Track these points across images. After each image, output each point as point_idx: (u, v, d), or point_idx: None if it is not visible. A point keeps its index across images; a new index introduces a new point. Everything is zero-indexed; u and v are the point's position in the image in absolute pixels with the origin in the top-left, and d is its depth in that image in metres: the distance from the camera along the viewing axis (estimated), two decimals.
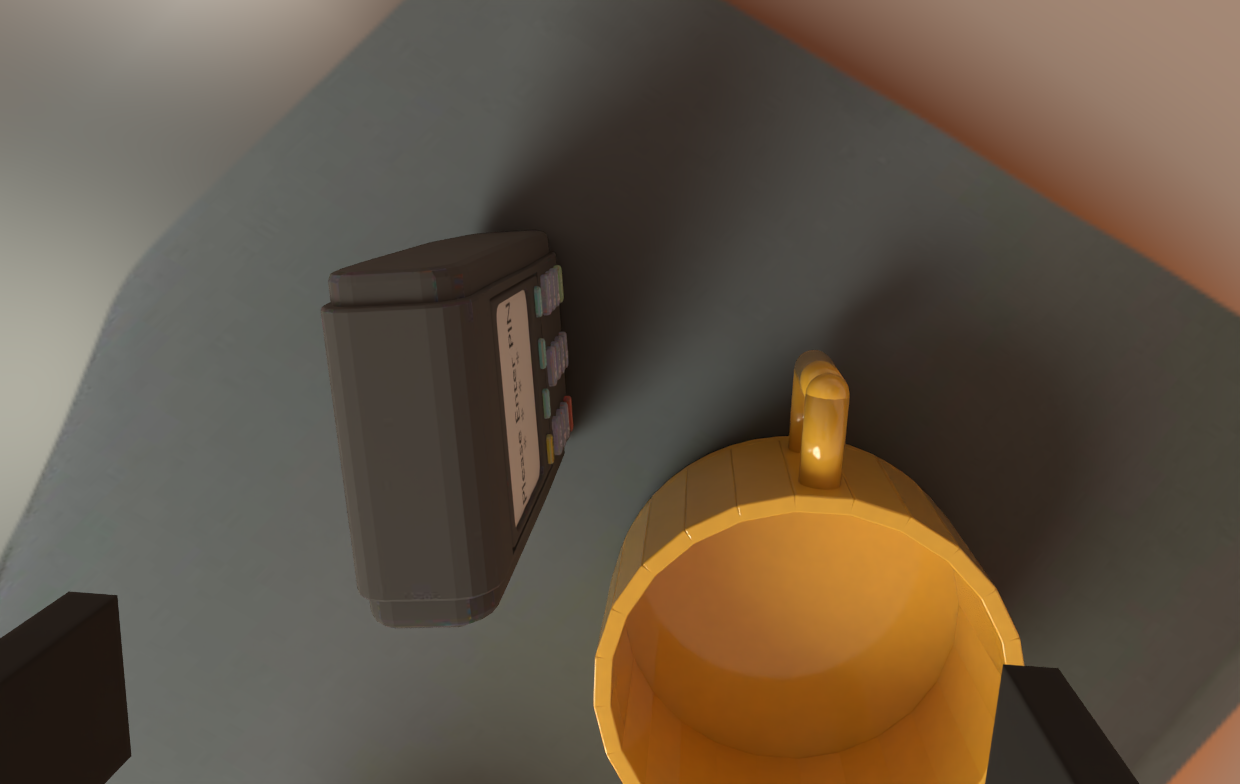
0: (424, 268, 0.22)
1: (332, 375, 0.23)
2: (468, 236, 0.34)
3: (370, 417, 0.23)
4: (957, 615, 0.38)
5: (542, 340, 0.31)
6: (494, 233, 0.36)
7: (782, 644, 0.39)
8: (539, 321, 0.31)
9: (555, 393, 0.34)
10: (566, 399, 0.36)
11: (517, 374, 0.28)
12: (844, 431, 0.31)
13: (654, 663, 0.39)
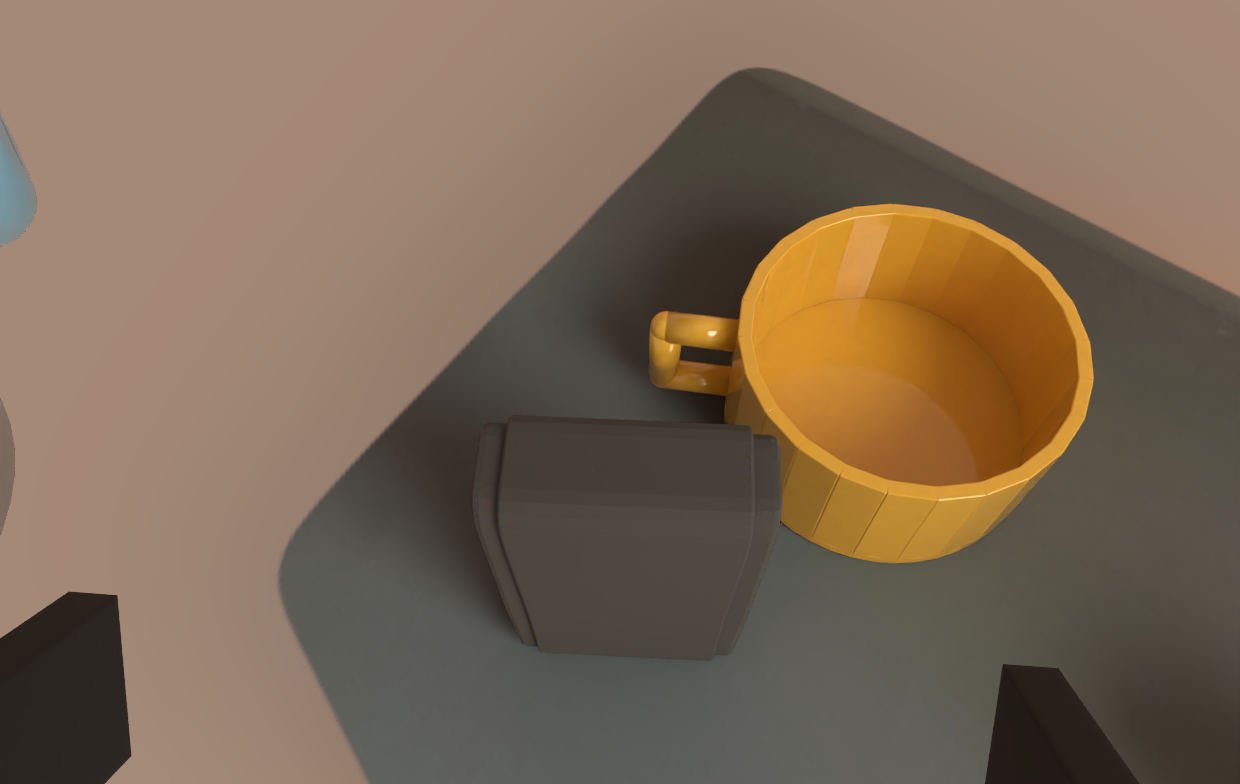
0: None
1: (552, 516, 0.27)
2: None
3: (589, 483, 0.28)
4: (873, 297, 0.48)
5: None
6: None
7: (909, 419, 0.45)
8: None
9: None
10: None
11: None
12: (694, 314, 0.41)
13: None
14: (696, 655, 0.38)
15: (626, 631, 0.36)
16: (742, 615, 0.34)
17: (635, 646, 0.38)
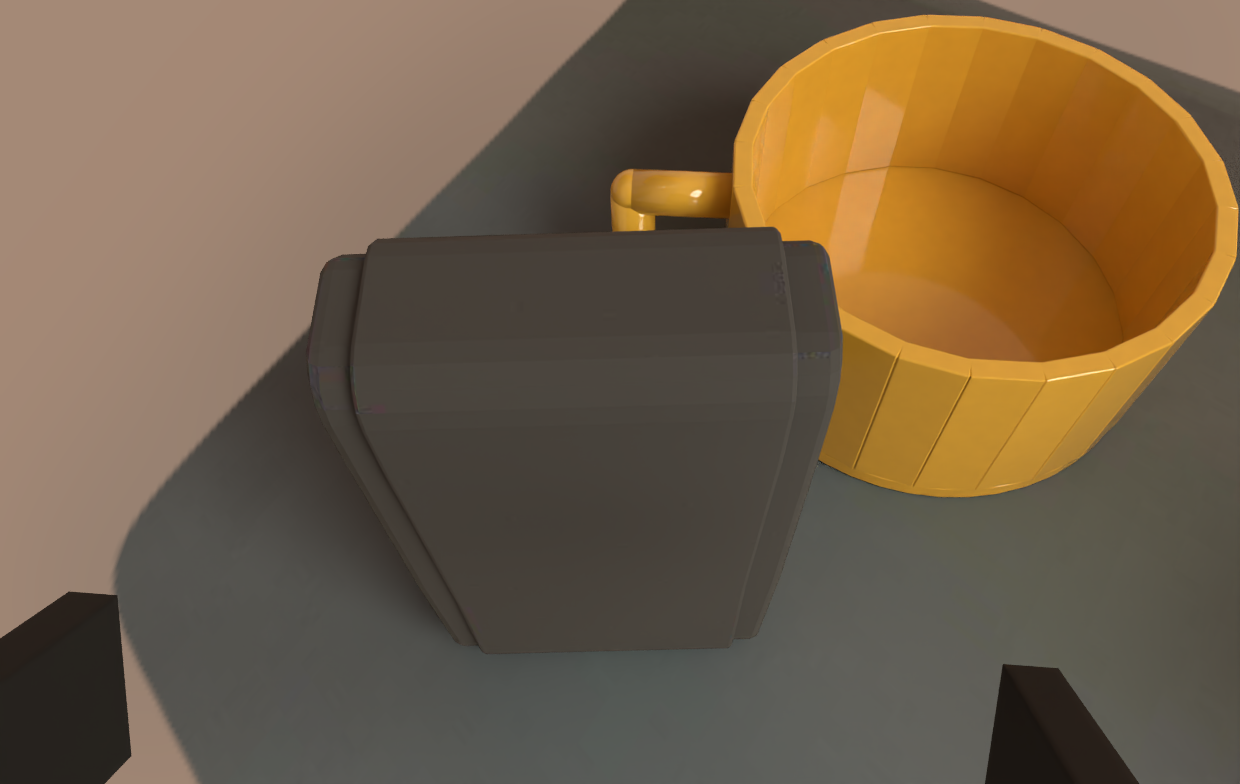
0: (322, 269, 0.17)
1: (447, 385, 0.16)
2: None
3: (507, 326, 0.16)
4: (901, 165, 0.37)
5: None
6: None
7: (967, 309, 0.33)
8: None
9: None
10: None
11: None
12: None
13: None
14: (708, 640, 0.27)
15: (602, 608, 0.24)
16: (775, 566, 0.22)
17: (618, 632, 0.26)
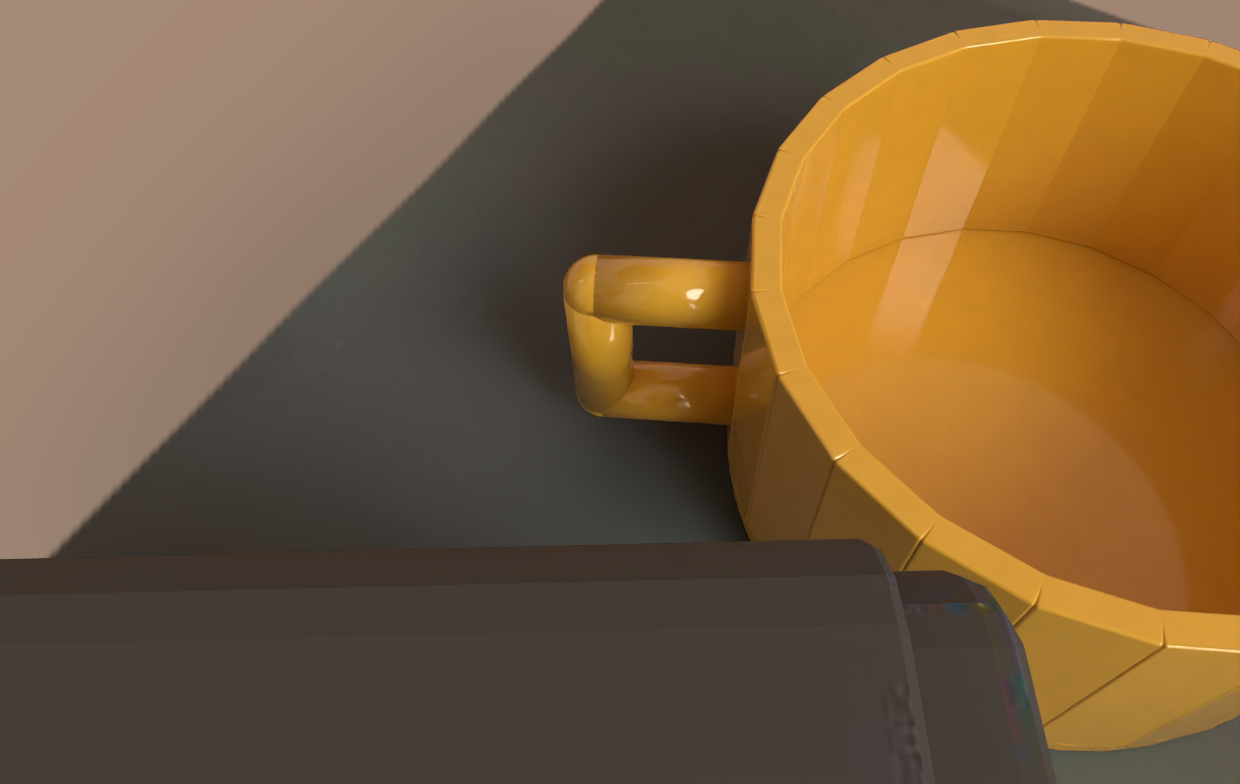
0: None
1: None
2: None
3: None
4: (980, 228, 0.27)
5: None
6: None
7: (1086, 446, 0.23)
8: None
9: None
10: None
11: None
12: (653, 257, 0.20)
13: None
14: None
15: None
16: None
17: None
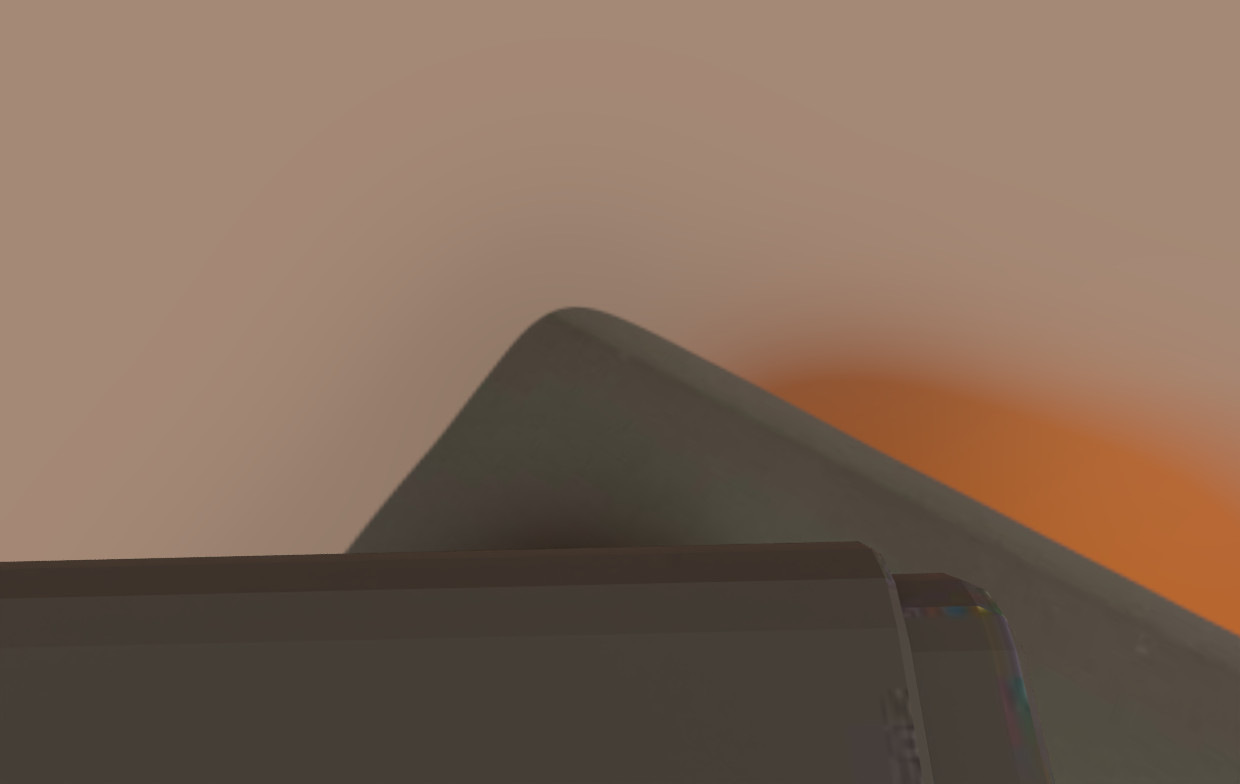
0: None
1: None
2: None
3: None
4: None
5: None
6: None
7: None
8: None
9: None
10: None
11: None
12: None
13: None
14: None
15: None
16: None
17: None
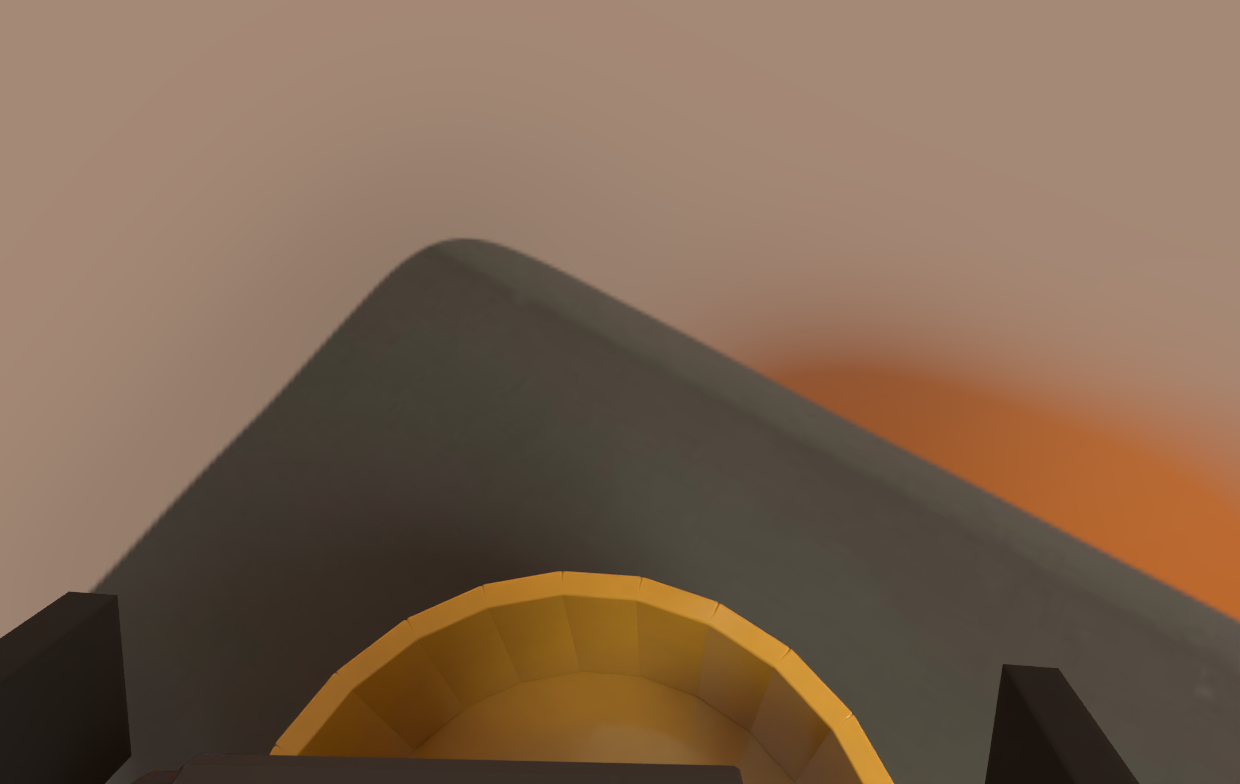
0: None
1: None
2: None
3: None
4: (596, 672, 0.28)
5: None
6: None
7: None
8: None
9: None
10: None
11: None
12: None
13: None
14: None
15: None
16: None
17: None
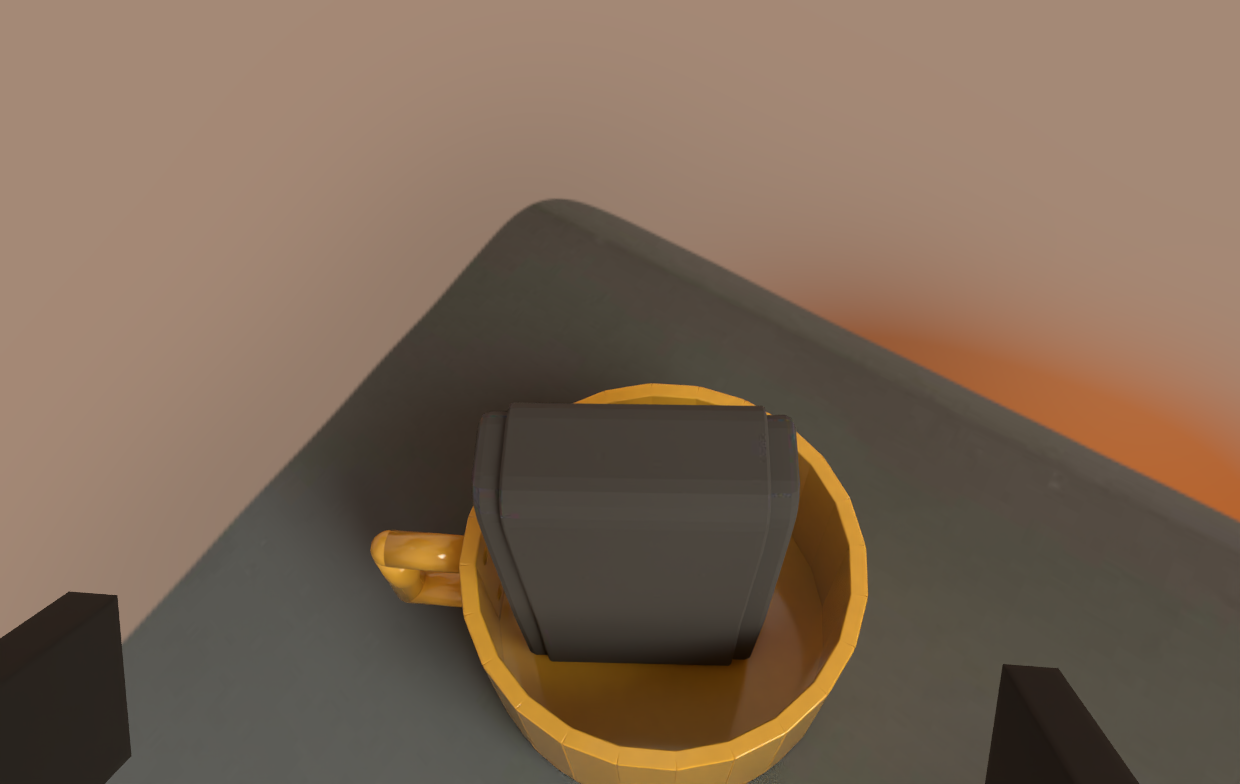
0: (479, 422, 0.27)
1: (557, 504, 0.26)
2: None
3: (595, 469, 0.26)
4: None
5: None
6: None
7: None
8: None
9: None
10: None
11: None
12: (420, 532, 0.36)
13: None
14: (714, 660, 0.37)
15: (639, 634, 0.34)
16: (761, 613, 0.33)
17: (649, 651, 0.36)
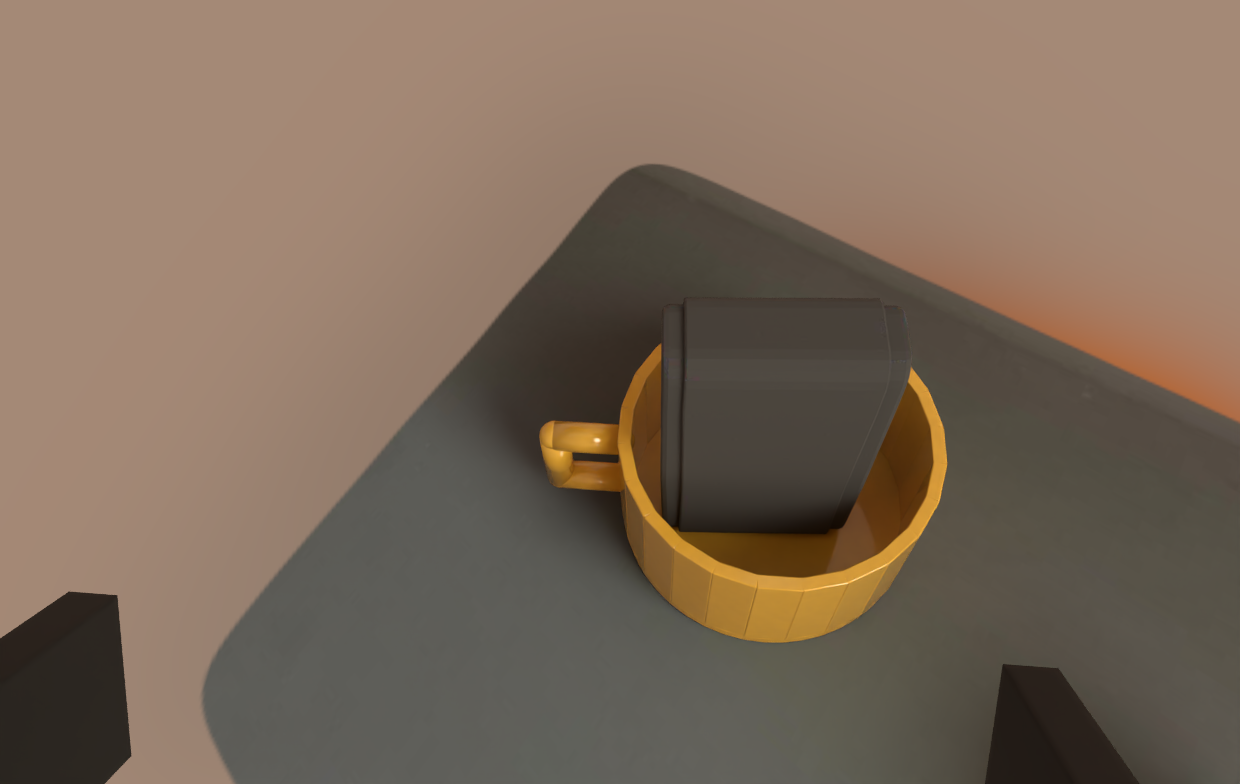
0: (662, 312, 0.36)
1: (729, 369, 0.34)
2: None
3: (757, 343, 0.35)
4: None
5: None
6: None
7: None
8: None
9: None
10: None
11: None
12: None
13: None
14: (815, 527, 0.45)
15: (761, 499, 0.43)
16: (863, 476, 0.41)
17: (765, 518, 0.44)
